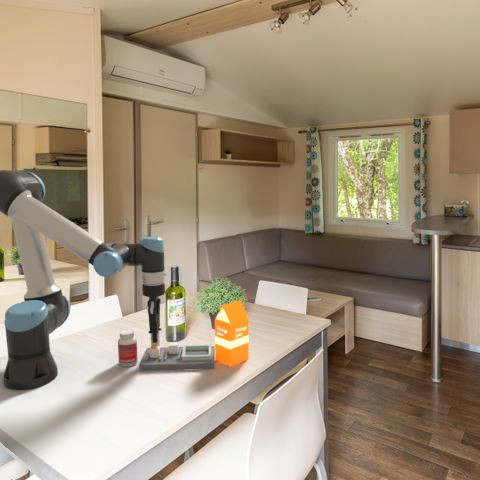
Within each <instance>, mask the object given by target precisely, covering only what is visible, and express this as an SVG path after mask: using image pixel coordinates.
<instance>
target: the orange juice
mask: <svg viewBox="0 0 480 480" xmlns="http://www.w3.org/2000/svg"><path fill="white" fill-rule="evenodd" d="M244 307H245V306H244V305H243V302H242V300H241V299H240V300H236V301H233V302H229V303H225V304H223V305H222V306H221V308H220V309H219V311H218V312H217V315H216V316H215V318H214V346H215V361H217V362H220V364H221V363H222V364H223V365H226V366H229V367H232V366H235V365H237V364H239V363H240V364H241V363H242V362H245V361H246V360H248V359H250V358H249V355H250V354H249V351H250V348H249V346H250V345H249V344H250V343H249V342H250V339H249V337H250V336H249V335H250V334H249V316H248V314H247V312H246V309H245V308H244Z"/></svg>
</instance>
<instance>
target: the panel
mask: <svg viewBox="0 0 480 480" xmlns="http://www.w3.org/2000/svg"><path fill="white" fill-rule="evenodd" d="M215 361H216V360H215V345H212V344H188V345H187V344H184V345H183V346H179V351H178V354H169V346H168V347H160V357H159V358H150V347H146V349H145V351H144V354H143V357H142V359H141V361H140V364H139V370H140V372H145V371H176V370H177V371H178V370H181V371H182V370H183V371H184V370H210V369H212V370H213V369H215V368H216V367H215V365H216V364H215Z"/></svg>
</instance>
